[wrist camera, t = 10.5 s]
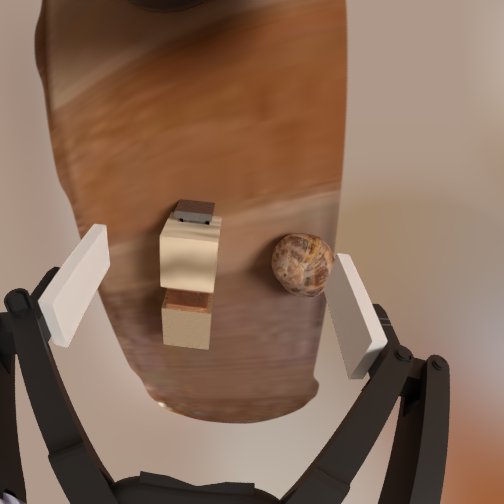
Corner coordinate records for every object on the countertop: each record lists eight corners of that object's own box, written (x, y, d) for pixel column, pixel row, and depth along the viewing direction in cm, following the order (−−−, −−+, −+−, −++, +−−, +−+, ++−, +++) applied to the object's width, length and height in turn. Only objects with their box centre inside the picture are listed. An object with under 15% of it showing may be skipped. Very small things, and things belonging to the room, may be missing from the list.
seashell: (251, 275, 50) (273, 284, 40) (275, 224, 50) (301, 221, 41) (304, 300, 53) (334, 313, 43) (326, 251, 53) (359, 255, 44)
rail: (171, 198, 43) (159, 221, 37) (223, 204, 44) (219, 227, 38) (171, 317, 55) (164, 348, 49) (211, 322, 56) (208, 353, 49)
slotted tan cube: (171, 211, 44) (159, 235, 38) (221, 216, 45) (218, 242, 39) (170, 261, 49) (160, 290, 42) (216, 266, 50) (212, 296, 43)
